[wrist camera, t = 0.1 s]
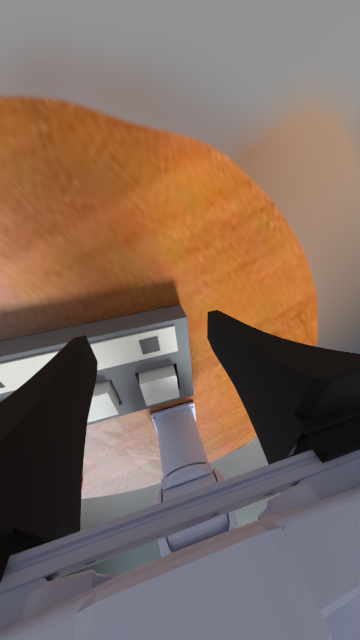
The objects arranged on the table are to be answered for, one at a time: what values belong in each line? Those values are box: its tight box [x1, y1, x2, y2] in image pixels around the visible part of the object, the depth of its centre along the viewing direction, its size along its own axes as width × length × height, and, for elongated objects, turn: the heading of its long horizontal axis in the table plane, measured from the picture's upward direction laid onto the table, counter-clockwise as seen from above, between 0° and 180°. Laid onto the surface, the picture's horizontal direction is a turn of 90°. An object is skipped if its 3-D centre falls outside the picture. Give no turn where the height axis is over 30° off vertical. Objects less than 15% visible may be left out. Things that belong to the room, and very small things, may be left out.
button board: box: [0, 305, 194, 425], centre depth 22 cm, size 14×25×3 cm, turn 95°
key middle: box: [87, 379, 119, 423], centre depth 22 cm, size 4×4×3 cm
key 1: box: [139, 364, 180, 406], centre depth 23 cm, size 4×4×3 cm
